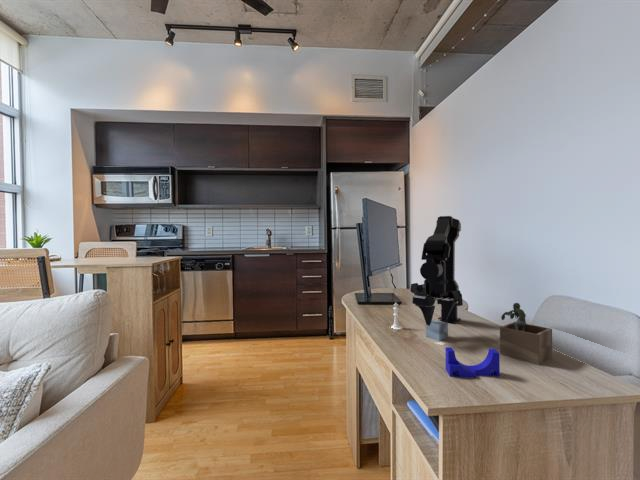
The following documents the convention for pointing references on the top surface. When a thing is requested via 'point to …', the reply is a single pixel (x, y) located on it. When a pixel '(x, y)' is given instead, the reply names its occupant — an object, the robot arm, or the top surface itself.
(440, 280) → the robot arm
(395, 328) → the chess piece
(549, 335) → the open brown box
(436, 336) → the blue cube
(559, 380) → the top surface
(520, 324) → the zombie figurine
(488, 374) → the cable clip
